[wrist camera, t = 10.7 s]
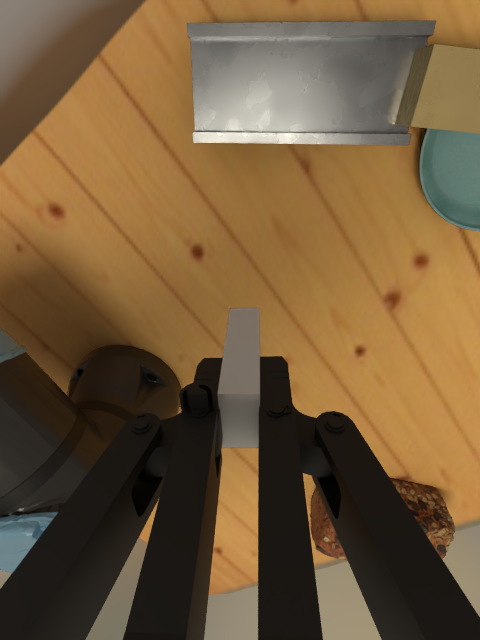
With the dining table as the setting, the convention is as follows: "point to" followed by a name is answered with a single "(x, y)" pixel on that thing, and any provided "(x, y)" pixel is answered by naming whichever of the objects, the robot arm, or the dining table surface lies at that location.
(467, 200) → the saucer
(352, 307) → the dining table surface
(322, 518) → the bread
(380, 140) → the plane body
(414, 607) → the robot arm
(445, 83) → the tan rectangular block
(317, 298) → the dining table surface
